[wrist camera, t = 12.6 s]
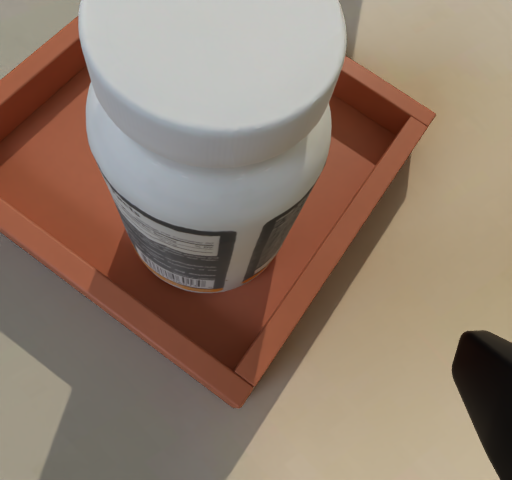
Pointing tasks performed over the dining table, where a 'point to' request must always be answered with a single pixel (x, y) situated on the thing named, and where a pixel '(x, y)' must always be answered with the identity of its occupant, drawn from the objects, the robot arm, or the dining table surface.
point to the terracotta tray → (120, 246)
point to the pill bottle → (210, 125)
